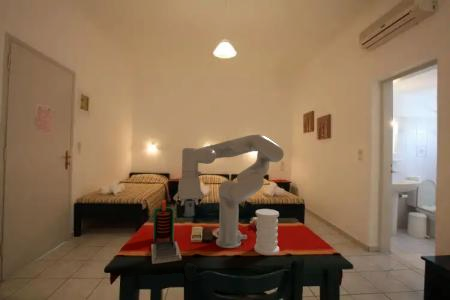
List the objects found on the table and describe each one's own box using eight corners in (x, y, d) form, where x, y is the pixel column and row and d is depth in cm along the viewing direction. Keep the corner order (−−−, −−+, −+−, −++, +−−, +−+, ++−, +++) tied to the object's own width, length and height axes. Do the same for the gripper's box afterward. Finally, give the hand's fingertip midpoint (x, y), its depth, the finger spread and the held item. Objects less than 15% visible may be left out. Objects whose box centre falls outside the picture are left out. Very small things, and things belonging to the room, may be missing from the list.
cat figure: (275, 239, 127) (262, 221, 152) (276, 224, 127) (263, 208, 151) (258, 240, 126) (247, 222, 151) (258, 224, 125) (248, 209, 150)
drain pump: (193, 213, 112) (193, 196, 112) (195, 217, 106) (196, 199, 106) (182, 214, 111) (183, 197, 111) (184, 217, 105) (185, 200, 105)
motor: (154, 244, 115) (155, 204, 115) (151, 238, 123) (152, 200, 123) (175, 241, 120) (175, 202, 120) (170, 235, 128) (171, 198, 127)
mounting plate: (176, 243, 117) (176, 236, 117) (181, 260, 99) (181, 251, 99) (151, 246, 113) (151, 239, 113) (152, 264, 96) (152, 255, 96)
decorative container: (279, 256, 104) (280, 216, 104) (253, 253, 107) (254, 214, 106) (278, 245, 116) (279, 209, 116) (255, 243, 118) (255, 208, 118)
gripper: (205, 173, 116) (204, 210, 116) (170, 173, 110) (169, 212, 110) (209, 175, 108) (208, 214, 108) (172, 175, 103) (171, 216, 103)
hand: (189, 212), depth 109 cm, fingers closed on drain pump, 5 cm apart
